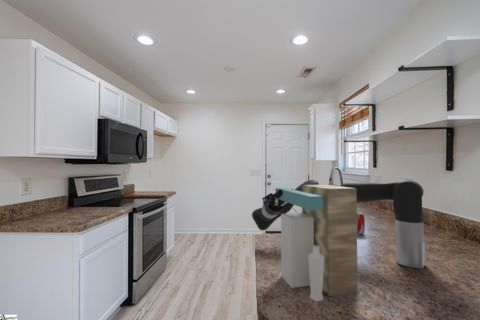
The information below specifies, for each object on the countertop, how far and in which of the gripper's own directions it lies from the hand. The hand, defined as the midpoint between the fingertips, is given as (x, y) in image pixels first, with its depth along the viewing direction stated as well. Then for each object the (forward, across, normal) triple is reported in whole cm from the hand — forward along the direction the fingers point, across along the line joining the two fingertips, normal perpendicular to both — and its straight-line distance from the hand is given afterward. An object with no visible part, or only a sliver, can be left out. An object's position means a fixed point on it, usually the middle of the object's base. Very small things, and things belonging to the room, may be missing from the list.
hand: (287, 191), depth 87 cm
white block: (-9, 0, -29) cm, 30 cm away
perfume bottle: (+1, -1, -35) cm, 35 cm away
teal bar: (+4, 0, -6) cm, 7 cm away
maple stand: (-6, -10, -30) cm, 33 cm away
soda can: (-46, -62, -8) cm, 78 cm away
